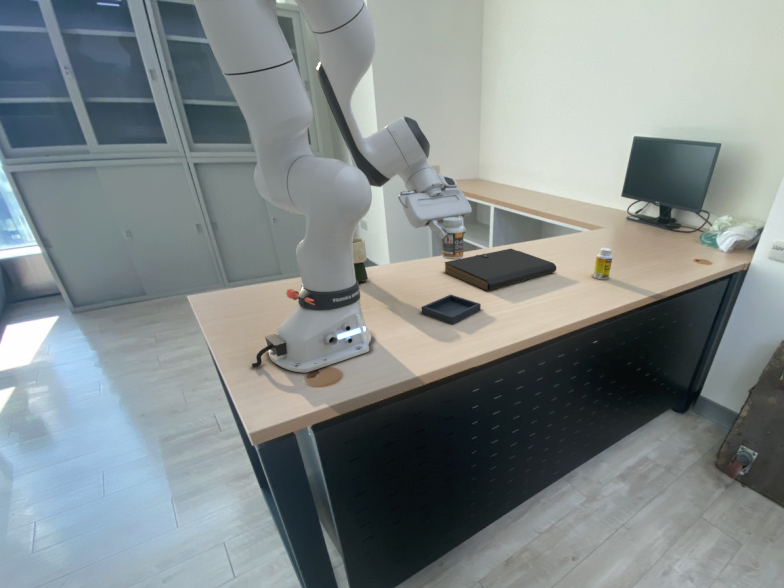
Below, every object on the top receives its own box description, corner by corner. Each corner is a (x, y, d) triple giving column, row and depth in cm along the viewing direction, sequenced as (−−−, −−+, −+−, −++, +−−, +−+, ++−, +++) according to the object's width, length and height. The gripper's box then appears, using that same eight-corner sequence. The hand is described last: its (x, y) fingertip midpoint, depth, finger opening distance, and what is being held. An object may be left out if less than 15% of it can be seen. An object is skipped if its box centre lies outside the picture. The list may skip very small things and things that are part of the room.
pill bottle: (459, 261, 106) (459, 221, 101) (439, 258, 107) (438, 219, 101) (465, 255, 111) (466, 217, 105) (445, 253, 111) (445, 215, 106)
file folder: (510, 247, 161) (557, 263, 147) (509, 257, 163) (555, 274, 149) (443, 260, 141) (489, 280, 127) (443, 272, 143) (489, 293, 129)
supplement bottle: (602, 281, 144) (608, 252, 139) (590, 276, 147) (594, 248, 142) (611, 278, 147) (617, 249, 142) (598, 274, 151) (603, 246, 145)
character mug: (339, 278, 132) (332, 238, 125) (359, 274, 137) (354, 235, 130) (356, 288, 126) (350, 245, 119) (376, 283, 131) (372, 242, 124)
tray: (452, 324, 107) (452, 317, 106) (421, 313, 112) (421, 306, 111) (480, 310, 116) (480, 303, 115) (450, 300, 121) (450, 294, 120)
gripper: (400, 183, 96) (430, 233, 96) (459, 179, 110) (485, 222, 110) (390, 201, 100) (419, 249, 100) (447, 194, 114) (473, 236, 114)
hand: (454, 235), depth 105 cm, fingers closed on pill bottle, 6 cm apart
